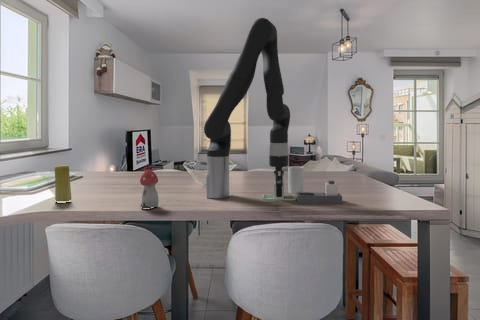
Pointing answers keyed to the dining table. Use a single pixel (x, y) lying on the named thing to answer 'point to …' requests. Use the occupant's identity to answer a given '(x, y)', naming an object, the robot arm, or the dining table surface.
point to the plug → (275, 191)
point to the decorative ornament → (149, 189)
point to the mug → (295, 179)
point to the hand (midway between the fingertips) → (278, 194)
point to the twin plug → (331, 188)
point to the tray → (271, 198)
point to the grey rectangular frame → (318, 198)
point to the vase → (62, 183)
